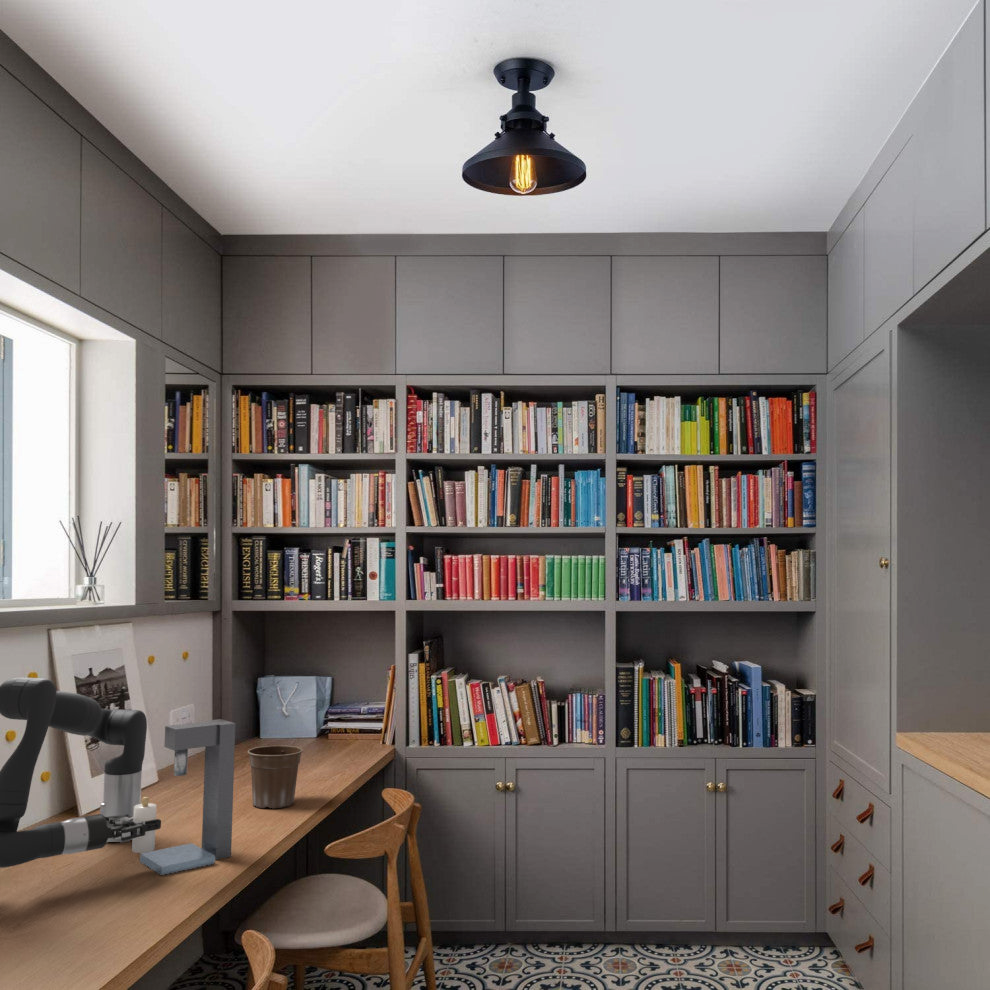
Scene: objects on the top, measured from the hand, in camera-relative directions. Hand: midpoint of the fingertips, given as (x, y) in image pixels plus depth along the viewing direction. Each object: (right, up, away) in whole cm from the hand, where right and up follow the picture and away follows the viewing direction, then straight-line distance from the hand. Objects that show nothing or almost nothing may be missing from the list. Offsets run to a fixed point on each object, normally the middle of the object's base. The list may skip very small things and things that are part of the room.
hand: (155, 821), depth 218 cm
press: (+3, -12, +8) cm, 15 cm away
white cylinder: (-2, -6, -2) cm, 7 cm away
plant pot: (+14, -16, +58) cm, 62 cm away
